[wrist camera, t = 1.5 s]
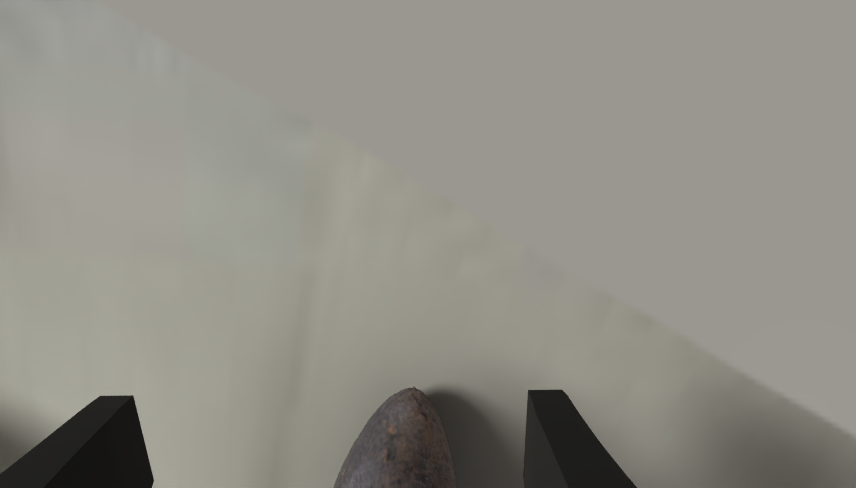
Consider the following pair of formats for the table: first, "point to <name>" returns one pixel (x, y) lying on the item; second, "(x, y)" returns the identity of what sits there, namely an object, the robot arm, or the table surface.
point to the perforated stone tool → (400, 448)
